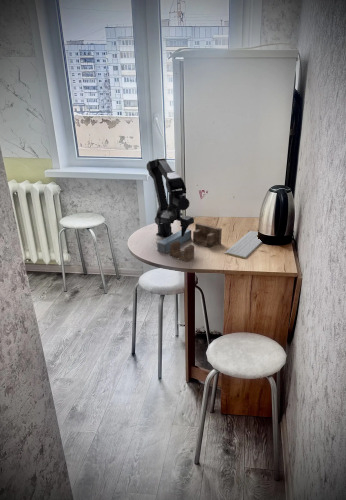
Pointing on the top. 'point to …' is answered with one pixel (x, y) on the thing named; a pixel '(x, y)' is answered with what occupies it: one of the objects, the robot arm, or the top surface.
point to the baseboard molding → (244, 245)
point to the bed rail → (173, 240)
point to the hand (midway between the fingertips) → (174, 234)
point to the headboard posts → (197, 241)
